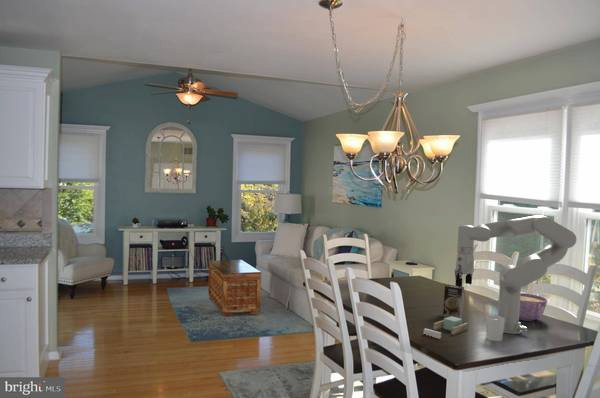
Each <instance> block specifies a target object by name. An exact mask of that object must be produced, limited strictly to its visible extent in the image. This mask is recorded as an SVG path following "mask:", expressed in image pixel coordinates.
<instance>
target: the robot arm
mask: <svg viewBox="0 0 600 398" xmlns="http://www.w3.org/2000/svg"><path fill="white" fill-rule="evenodd" d="M457 231H458V232H457V251H456V252H457V255H456V261H455V268H454V270H453V271H454V277H455V286H459V287H463V275H465V278H464V279H465V280H464V283H465V284H466V285H467V284H468V285H472V282H473V274H474V271H475V258H474V257H475V255H474V248H475V247H474V244H475V241H477V242H482V243H484V242H488V241H489V240H490V239H491V238H499V237H504V238H505V237H506V238H517V237H518V238H519V237H525V236H532V235H538V234H539V235H541V236H542V237H543V238H545V239H547V240H549V241H550V242H549V243H548V245H547V246H545V247H544V248H542V249H540V250H537V251H536V252H534V253H532V254H530V255H527V256H525V257H524V258H523V259H522V261H521V263H519V264H518V265H513V264H507V265H505V266H503V267H502V268H501V269H500V271H499V274H498V276H499V277H498V278H499V280H498V282H499V284H498V285H499V286H498V288H499V292H498V293H499V294H498V306H497V307H498V308H497V316H501V317H503V318H505V322H504V330H503V334H508V335H509V334H510V335H511V334H512V335H517V334H518V335H519V334H521V333H522V332H528V327H527V326H525V325H522V322H521V321H520V319H519V311H520V297H521V293H522V289H521V288H523V287H525V286H528V285H529V284H532V283H533V282H535V281H538V280H540V279H542V278H543V277H544V276H545V275H546V274H547V272H548V269H549V268H550V267H551V266H553V265H555V264H557V263H559V262H560V261H561V260H563V259H564V258H565V256H566V255H567V253H568V251H569V249H571V248H573V247H574V246H575V244H577V235H576V234H575V232H574V231H572V230H570V229H568V228H567V227H564V226H563V225H561V224H559V223H558V222H556V221H554V220H553V219H551V218H550V217H548V216H545V215H541V214H539V215H531V216H525V217H520V218H513V219H508V220H502V221H501V220H500V221H494V222H487V223H481V224H478V225H476V226H473V225H470V224H461V225H459V226H458V229H457Z"/></svg>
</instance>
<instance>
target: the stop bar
mask: <svg viewBox="0 0 600 398" xmlns="http://www.w3.org/2000/svg"><path fill="white" fill-rule="evenodd" d="M424 334H426V335H425V336H428V335H429V337H431V336H432V337H433V338H435V339H441V338H442V332H441V331H440V332H439V331H437V330H434V329H429V328H426V327H425V328H423V335H424Z"/></svg>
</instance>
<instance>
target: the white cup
mask: <svg viewBox="0 0 600 398" xmlns="http://www.w3.org/2000/svg"><path fill="white" fill-rule="evenodd" d="M485 317H486V318H485V319H486V320H485V335H486V337H485V338H486V340H489V341H491V342H501V341H503V338H504V337H503V335H504V333H503V330H504V322H505V318H503V317H501V316H498V315H493V314H489V315H488V314H487V315H486V316H485Z"/></svg>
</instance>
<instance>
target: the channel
mask: <svg viewBox="0 0 600 398" xmlns="http://www.w3.org/2000/svg"><path fill="white" fill-rule="evenodd" d="M443 325H444V319H442V320H438V321H437V322H433V328H432V330H433V331H437V330H439V329H443ZM468 330H469V323H468V322H464V323H462V324H461V325H458V326H455V327H453V328H451V331H450V335H451V336H454V335H457V334H460V333H462V332H464V331H468Z"/></svg>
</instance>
